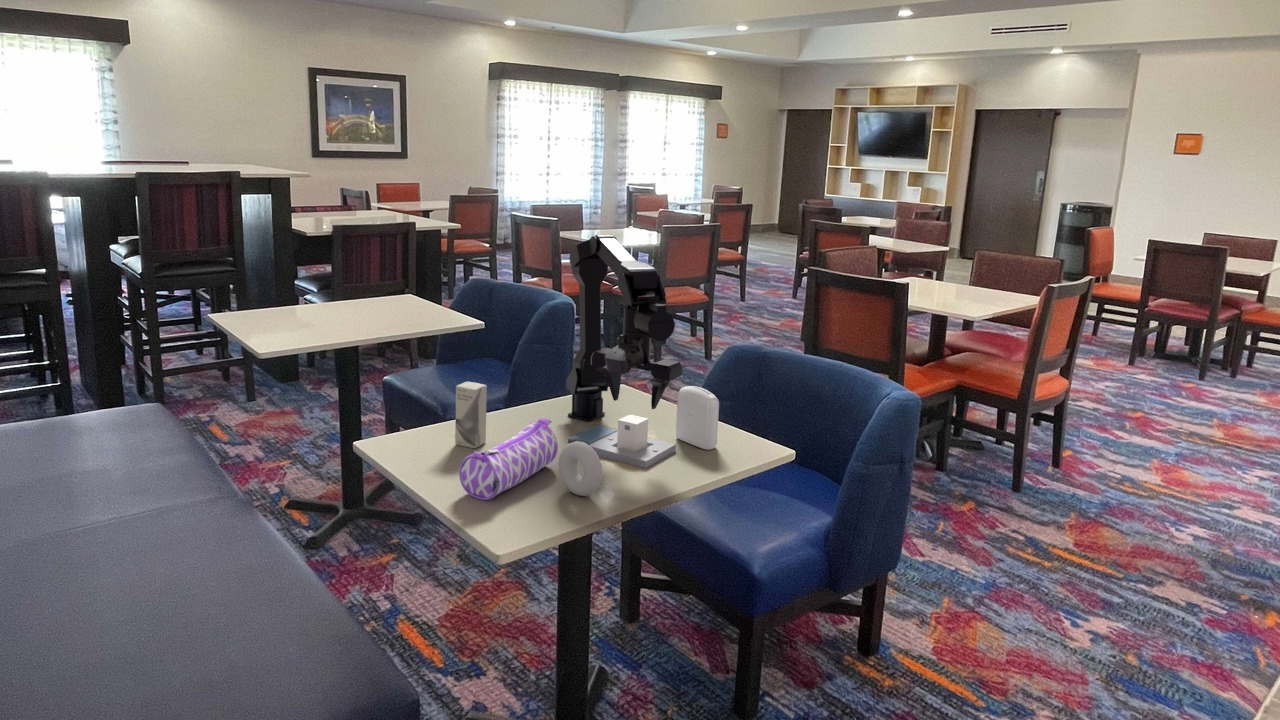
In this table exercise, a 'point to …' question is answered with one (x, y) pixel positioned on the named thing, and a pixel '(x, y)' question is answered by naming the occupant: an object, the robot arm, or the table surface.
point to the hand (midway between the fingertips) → (634, 404)
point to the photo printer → (697, 417)
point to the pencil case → (509, 461)
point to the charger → (632, 433)
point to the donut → (590, 467)
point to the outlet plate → (642, 459)
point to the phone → (592, 434)
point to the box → (470, 414)
